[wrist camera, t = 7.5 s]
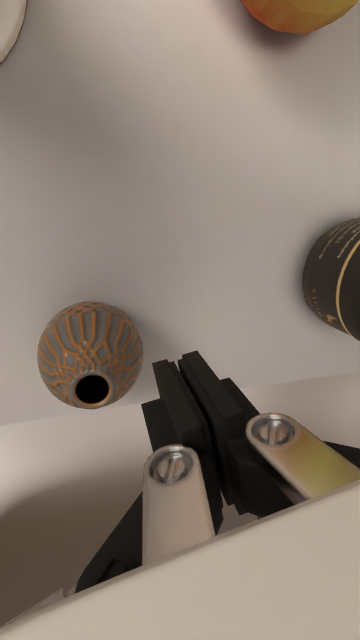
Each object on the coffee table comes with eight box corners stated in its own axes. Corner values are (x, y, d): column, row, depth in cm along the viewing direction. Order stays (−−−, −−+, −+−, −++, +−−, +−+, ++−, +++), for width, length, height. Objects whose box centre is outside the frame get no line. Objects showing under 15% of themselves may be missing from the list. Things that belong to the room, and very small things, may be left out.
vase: (92, 273, 24) (93, 303, 16) (153, 334, 27) (179, 386, 19) (25, 335, 24) (-9, 395, 16) (92, 389, 27) (91, 464, 19)
